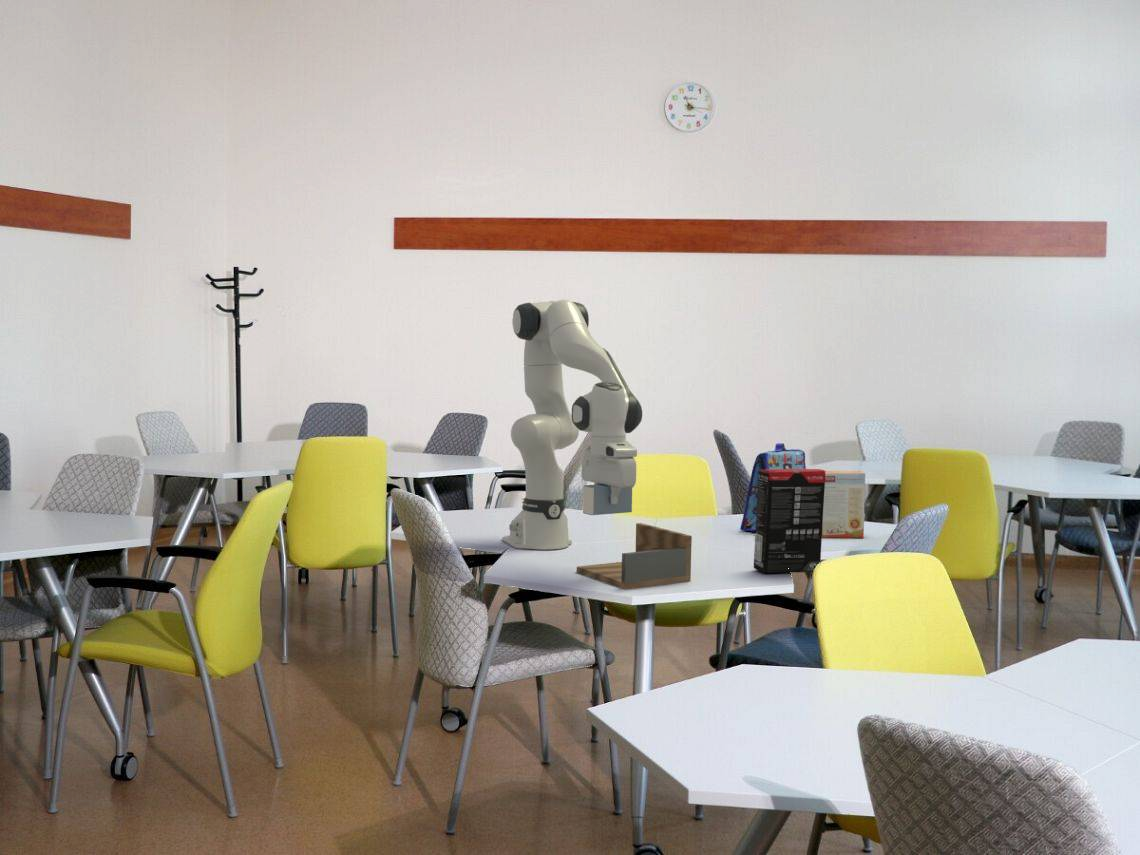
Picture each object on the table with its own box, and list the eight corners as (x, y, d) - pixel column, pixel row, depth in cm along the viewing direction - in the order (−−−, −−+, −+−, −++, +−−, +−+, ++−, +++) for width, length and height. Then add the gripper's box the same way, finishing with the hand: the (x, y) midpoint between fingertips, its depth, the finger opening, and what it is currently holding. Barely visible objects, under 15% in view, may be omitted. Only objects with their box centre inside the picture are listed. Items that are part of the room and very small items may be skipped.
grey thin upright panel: (621, 581, 253) (622, 553, 253) (682, 574, 263) (682, 547, 262) (624, 583, 252) (625, 554, 251) (685, 575, 261) (686, 548, 261)
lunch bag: (772, 536, 330) (775, 445, 328) (739, 530, 341) (741, 442, 339) (813, 530, 345) (816, 443, 343) (780, 524, 355) (783, 440, 353)
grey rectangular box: (582, 513, 262) (583, 485, 261) (622, 510, 268) (623, 482, 267) (591, 515, 258) (591, 487, 258) (631, 512, 264) (632, 484, 264)
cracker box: (858, 535, 336) (860, 470, 334) (863, 538, 330) (866, 472, 328) (814, 534, 335) (817, 470, 334) (819, 538, 329) (822, 472, 328)
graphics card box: (809, 567, 283) (813, 467, 281) (823, 572, 276) (826, 470, 274) (752, 570, 278) (755, 468, 276) (765, 575, 271) (768, 471, 269)
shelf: (576, 572, 271) (577, 528, 270) (639, 565, 281) (640, 523, 280) (624, 589, 252) (625, 542, 251) (690, 581, 262) (691, 535, 262)
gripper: (575, 444, 269) (575, 498, 270) (619, 451, 252) (618, 508, 252) (596, 443, 272) (595, 496, 273) (641, 450, 255) (640, 506, 256)
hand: (607, 502), depth 263 cm, fingers closed on grey rectangular box, 4 cm apart
